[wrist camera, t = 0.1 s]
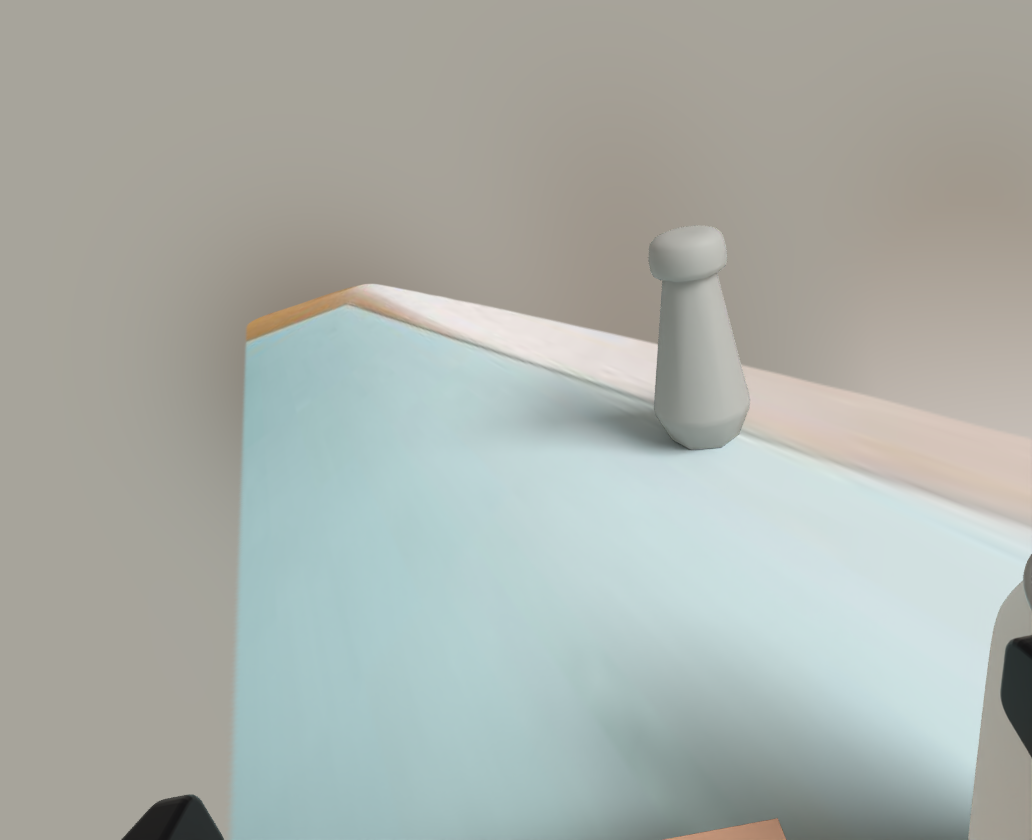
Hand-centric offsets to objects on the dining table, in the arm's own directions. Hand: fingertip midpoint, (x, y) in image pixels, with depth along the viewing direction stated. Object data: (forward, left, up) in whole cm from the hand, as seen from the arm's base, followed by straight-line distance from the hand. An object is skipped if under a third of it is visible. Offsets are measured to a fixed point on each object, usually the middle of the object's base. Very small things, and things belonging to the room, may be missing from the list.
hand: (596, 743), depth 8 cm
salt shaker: (+35, -10, -17) cm, 40 cm away
